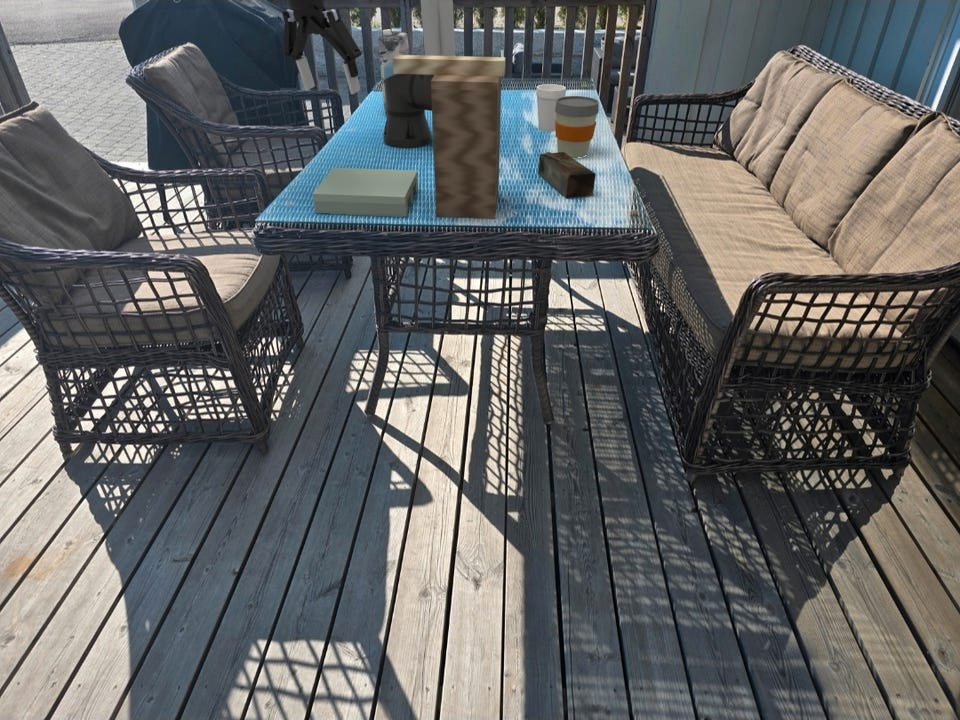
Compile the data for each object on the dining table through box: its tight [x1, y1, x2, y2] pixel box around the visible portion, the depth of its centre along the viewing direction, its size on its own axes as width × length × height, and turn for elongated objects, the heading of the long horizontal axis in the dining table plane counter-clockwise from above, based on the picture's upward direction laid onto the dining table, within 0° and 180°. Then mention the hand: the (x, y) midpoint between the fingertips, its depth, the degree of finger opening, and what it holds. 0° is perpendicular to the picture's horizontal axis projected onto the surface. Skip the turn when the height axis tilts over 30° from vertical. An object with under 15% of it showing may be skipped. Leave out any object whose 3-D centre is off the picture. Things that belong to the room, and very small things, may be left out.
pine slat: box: [393, 54, 506, 77], centre depth 130 cm, size 24×4×3 cm, turn 85°
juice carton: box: [378, 28, 410, 117], centre depth 205 cm, size 9×10×27 cm
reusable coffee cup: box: [554, 95, 600, 159], centre depth 176 cm, size 13×12×15 cm
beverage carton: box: [537, 151, 596, 199], centre depth 158 cm, size 8×19×7 cm, turn 18°
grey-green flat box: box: [311, 167, 419, 218], centre depth 148 cm, size 22×18×5 cm
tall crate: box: [431, 75, 503, 220], centre depth 139 cm, size 14×16×30 cm
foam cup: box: [535, 83, 567, 133], centre depth 197 cm, size 10×9×13 cm
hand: (332, 90), depth 136 cm, fingers open, 13 cm apart
